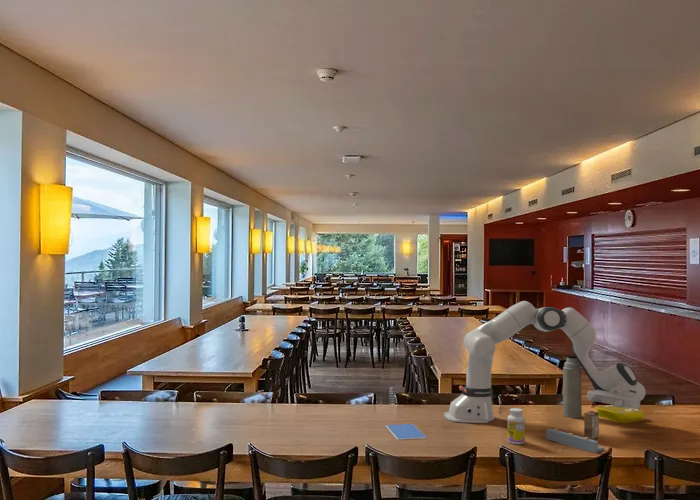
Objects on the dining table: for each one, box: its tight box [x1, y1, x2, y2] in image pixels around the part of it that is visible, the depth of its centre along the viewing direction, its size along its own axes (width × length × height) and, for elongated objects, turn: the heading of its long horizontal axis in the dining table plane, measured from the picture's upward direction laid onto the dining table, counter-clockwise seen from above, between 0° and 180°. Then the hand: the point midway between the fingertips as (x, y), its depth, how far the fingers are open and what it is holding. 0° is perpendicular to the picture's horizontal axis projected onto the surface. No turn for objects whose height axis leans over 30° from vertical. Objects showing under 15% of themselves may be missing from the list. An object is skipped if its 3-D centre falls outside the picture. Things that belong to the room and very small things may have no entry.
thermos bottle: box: [562, 354, 583, 419], centre depth 264 cm, size 8×8×28 cm
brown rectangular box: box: [583, 410, 600, 442], centre depth 227 cm, size 6×3×11 cm, turn 128°
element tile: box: [596, 404, 645, 424], centre depth 262 cm, size 15×15×5 cm
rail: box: [545, 427, 605, 454], centre depth 222 cm, size 6×21×5 cm, turn 36°
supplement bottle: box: [506, 407, 526, 445], centre depth 223 cm, size 7×7×13 cm
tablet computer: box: [385, 423, 428, 441], centre depth 235 cm, size 19×13×1 cm, turn 11°
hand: (602, 401), depth 236 cm, fingers open, 8 cm apart
